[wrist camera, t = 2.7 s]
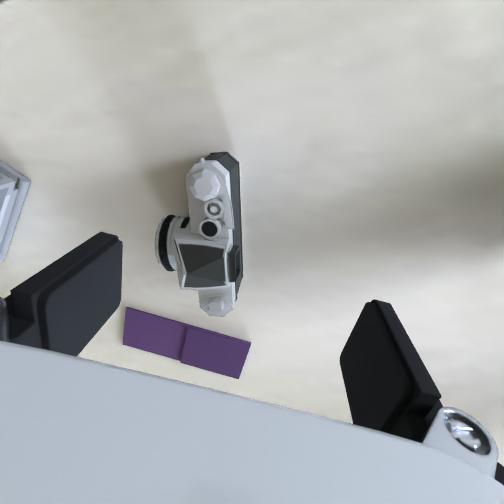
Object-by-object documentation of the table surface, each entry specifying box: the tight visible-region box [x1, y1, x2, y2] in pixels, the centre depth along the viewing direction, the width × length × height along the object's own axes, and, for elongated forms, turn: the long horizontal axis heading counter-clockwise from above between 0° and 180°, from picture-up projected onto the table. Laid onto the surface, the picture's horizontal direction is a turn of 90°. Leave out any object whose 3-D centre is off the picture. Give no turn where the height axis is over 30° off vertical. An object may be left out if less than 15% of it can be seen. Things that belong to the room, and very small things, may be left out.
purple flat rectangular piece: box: [123, 307, 251, 379], centre depth 42 cm, size 7×18×1 cm, turn 75°
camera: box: [155, 152, 243, 317], centre depth 29 cm, size 16×9×10 cm, turn 1°
